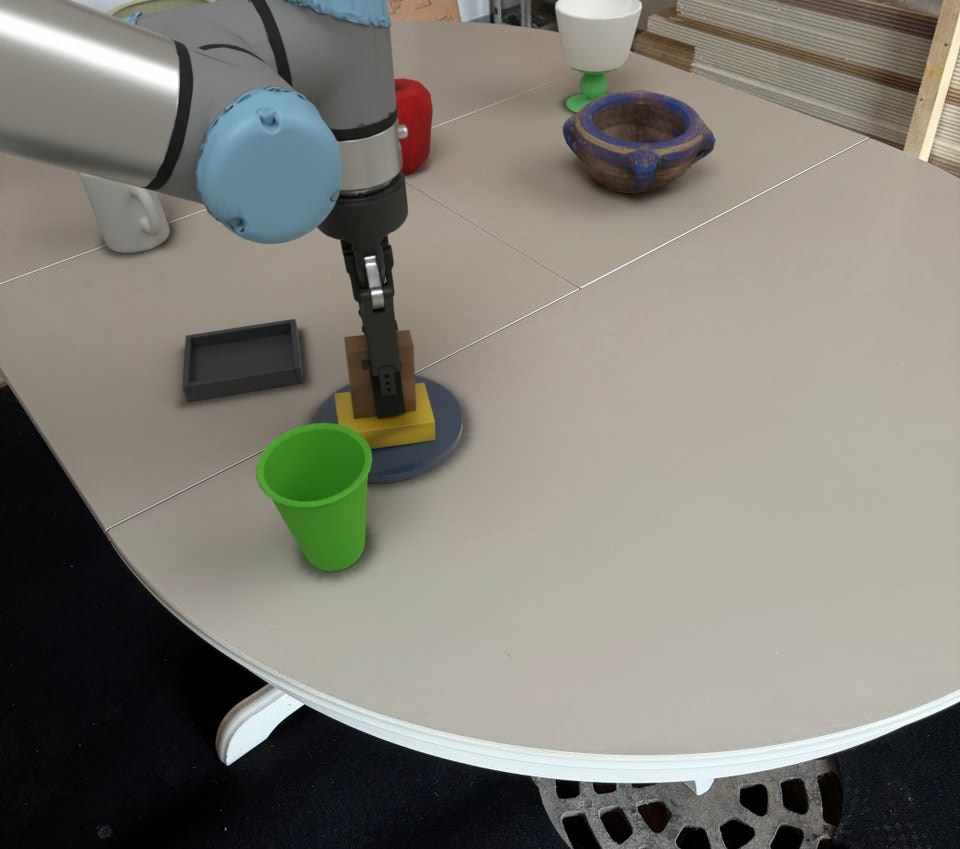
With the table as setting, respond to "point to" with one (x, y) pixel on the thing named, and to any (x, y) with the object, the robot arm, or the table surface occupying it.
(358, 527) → the cup
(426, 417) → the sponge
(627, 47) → the cup
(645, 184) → the bowl
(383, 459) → the plate
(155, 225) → the mug
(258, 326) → the dish
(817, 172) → the table surface
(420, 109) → the apple
